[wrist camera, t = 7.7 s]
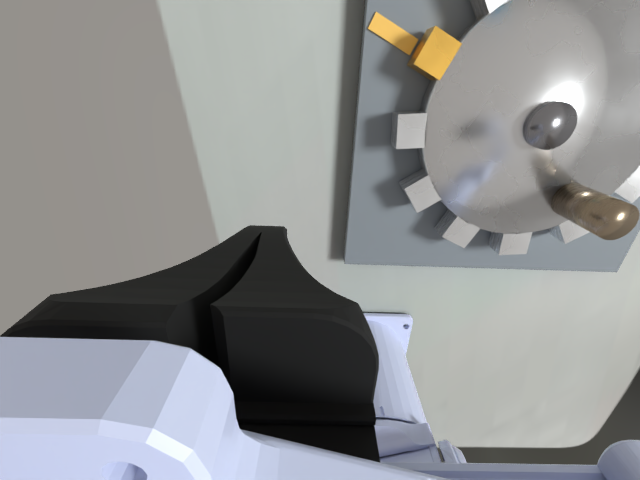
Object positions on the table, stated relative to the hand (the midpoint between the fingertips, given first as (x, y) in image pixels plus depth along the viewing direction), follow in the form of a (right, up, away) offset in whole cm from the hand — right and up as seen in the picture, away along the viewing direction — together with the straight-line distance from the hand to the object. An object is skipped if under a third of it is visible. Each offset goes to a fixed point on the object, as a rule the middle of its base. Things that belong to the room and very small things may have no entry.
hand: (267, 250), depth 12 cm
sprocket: (+14, +7, +7) cm, 17 cm away
